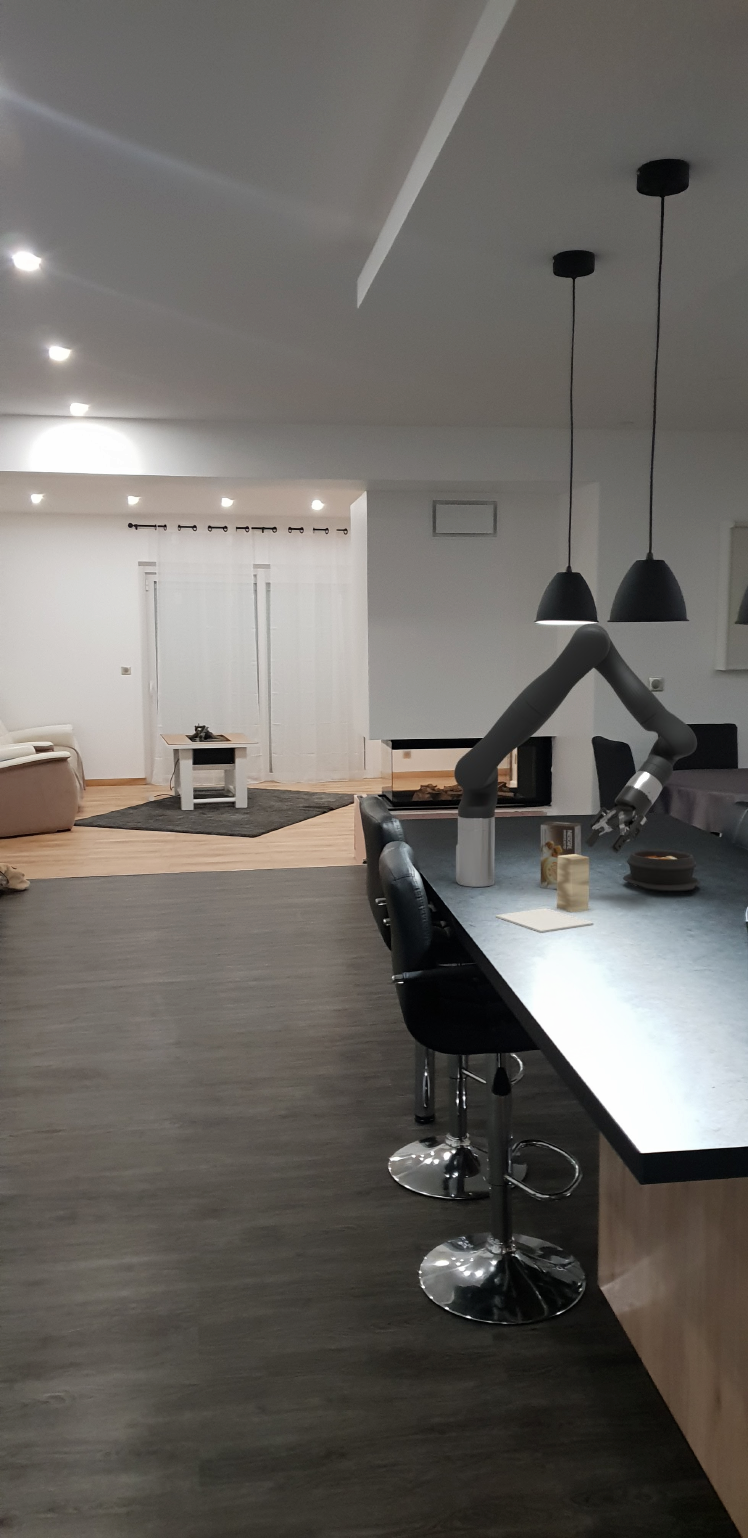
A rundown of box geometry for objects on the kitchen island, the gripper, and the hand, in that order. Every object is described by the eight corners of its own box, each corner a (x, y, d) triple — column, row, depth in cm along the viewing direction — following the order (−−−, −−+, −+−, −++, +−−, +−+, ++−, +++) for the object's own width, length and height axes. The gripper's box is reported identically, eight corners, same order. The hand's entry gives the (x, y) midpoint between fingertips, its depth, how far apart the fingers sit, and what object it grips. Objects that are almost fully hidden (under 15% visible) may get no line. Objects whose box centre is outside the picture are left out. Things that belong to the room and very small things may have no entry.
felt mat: (495, 917, 233) (495, 915, 233) (546, 909, 240) (546, 908, 240) (541, 932, 219) (541, 930, 219) (593, 924, 226) (593, 922, 226)
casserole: (711, 898, 252) (712, 863, 251) (631, 897, 253) (632, 862, 253) (687, 878, 277) (688, 846, 276) (615, 877, 278) (616, 845, 278)
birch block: (556, 907, 242) (557, 855, 241) (573, 905, 245) (574, 854, 243) (571, 912, 238) (572, 859, 237) (588, 909, 240) (589, 857, 239)
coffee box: (582, 886, 266) (583, 823, 264) (574, 891, 260) (576, 826, 258) (547, 883, 270) (548, 820, 268) (539, 888, 264) (539, 824, 263)
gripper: (609, 781, 253) (571, 833, 249) (652, 787, 241) (613, 841, 236) (625, 802, 256) (588, 853, 252) (669, 809, 244) (630, 863, 239)
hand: (600, 847), depth 244 cm, fingers open, 8 cm apart
